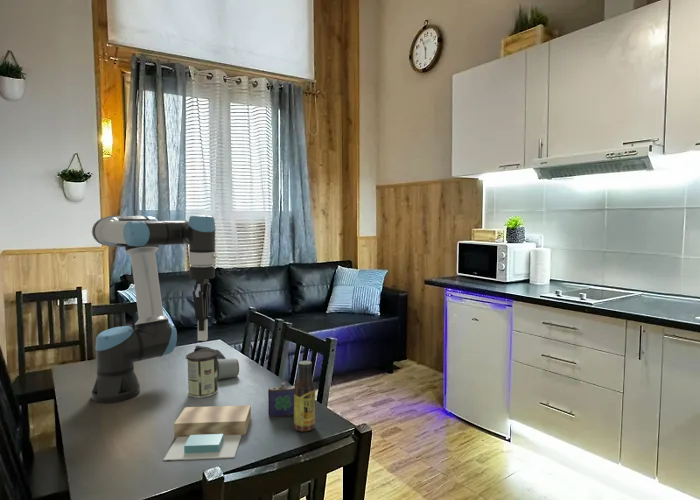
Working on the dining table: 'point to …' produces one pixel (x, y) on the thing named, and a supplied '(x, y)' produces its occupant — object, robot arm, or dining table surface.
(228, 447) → the mat
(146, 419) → the dining table surface
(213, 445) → the teal rectangular block
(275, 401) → the flask
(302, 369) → the sauce bottle
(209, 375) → the coffee can
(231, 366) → the ceramic mug
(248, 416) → the tan flat rectangular slab
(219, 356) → the dark slate chunk
